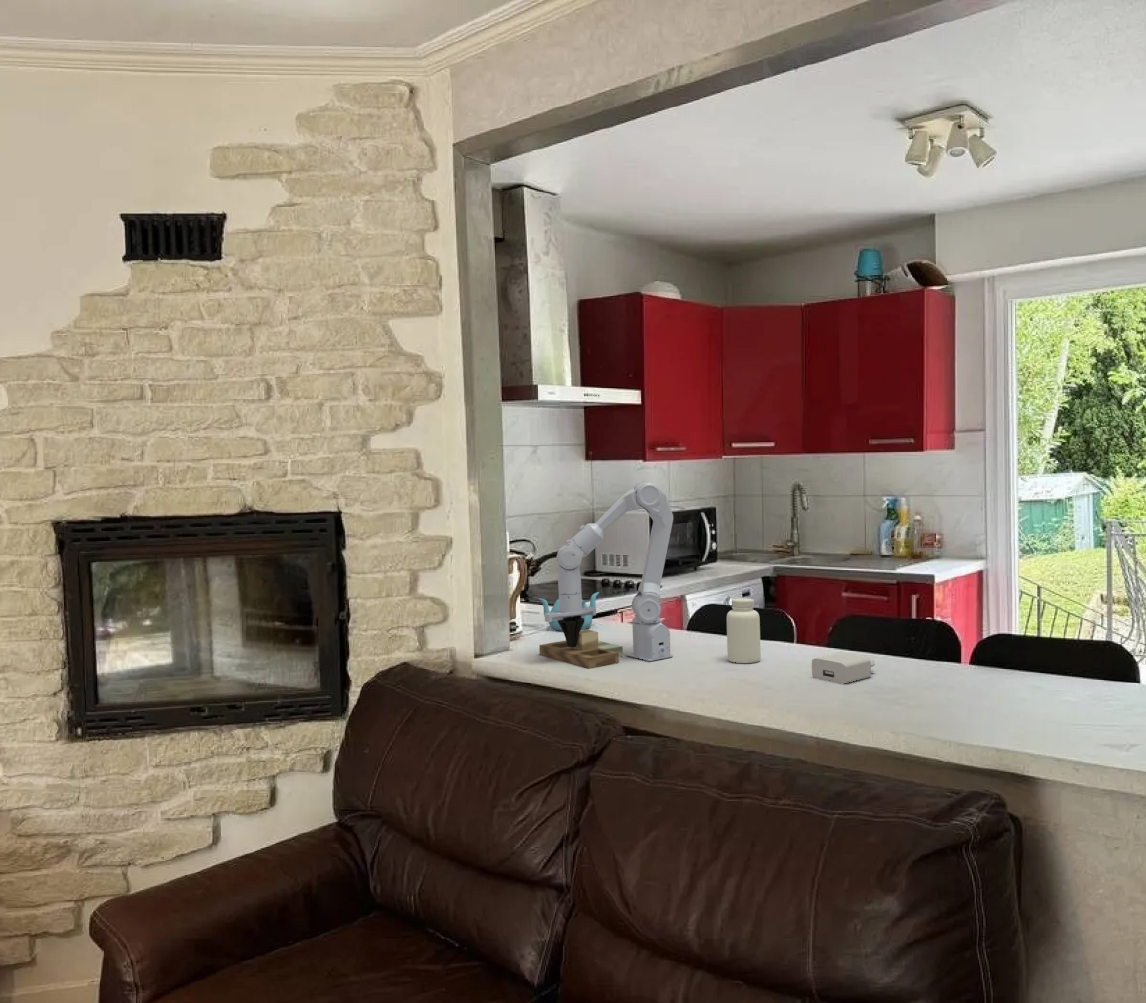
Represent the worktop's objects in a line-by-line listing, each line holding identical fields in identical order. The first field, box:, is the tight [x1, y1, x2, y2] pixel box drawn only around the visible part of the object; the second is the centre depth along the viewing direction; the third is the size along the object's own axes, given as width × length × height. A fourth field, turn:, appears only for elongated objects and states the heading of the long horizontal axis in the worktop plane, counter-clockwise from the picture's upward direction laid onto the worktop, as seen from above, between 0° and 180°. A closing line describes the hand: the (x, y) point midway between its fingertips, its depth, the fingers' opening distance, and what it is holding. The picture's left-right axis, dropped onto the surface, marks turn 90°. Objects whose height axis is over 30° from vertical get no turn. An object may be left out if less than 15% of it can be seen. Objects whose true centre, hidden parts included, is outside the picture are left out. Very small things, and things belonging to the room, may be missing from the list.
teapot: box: [538, 591, 600, 632], centre depth 282 cm, size 15×15×10 cm
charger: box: [811, 652, 876, 684], centre depth 213 cm, size 5×9×15 cm
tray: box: [539, 640, 623, 669], centre depth 241 cm, size 22×14×2 cm, turn 35°
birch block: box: [573, 628, 599, 650], centre depth 241 cm, size 5×5×4 cm
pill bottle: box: [726, 597, 762, 664], centre depth 231 cm, size 8×8×15 cm
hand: (571, 646), depth 239 cm, fingers closed
